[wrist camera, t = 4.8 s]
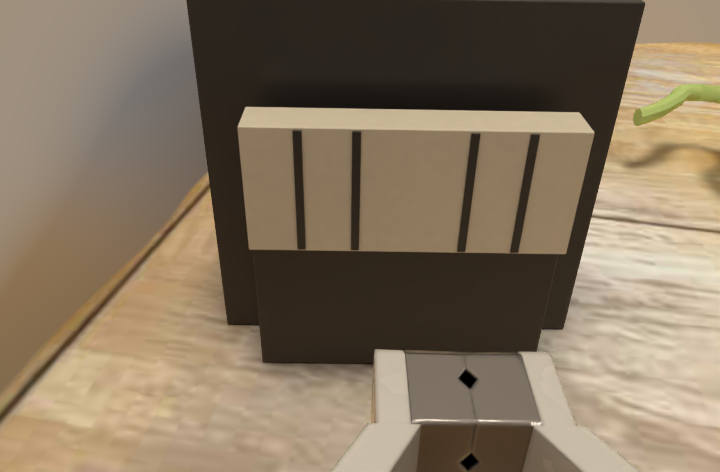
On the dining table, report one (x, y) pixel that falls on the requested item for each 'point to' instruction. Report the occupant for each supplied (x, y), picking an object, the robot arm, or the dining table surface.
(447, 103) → the toy piano
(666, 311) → the dining table surface
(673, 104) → the figurine
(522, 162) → the piano keyboard
